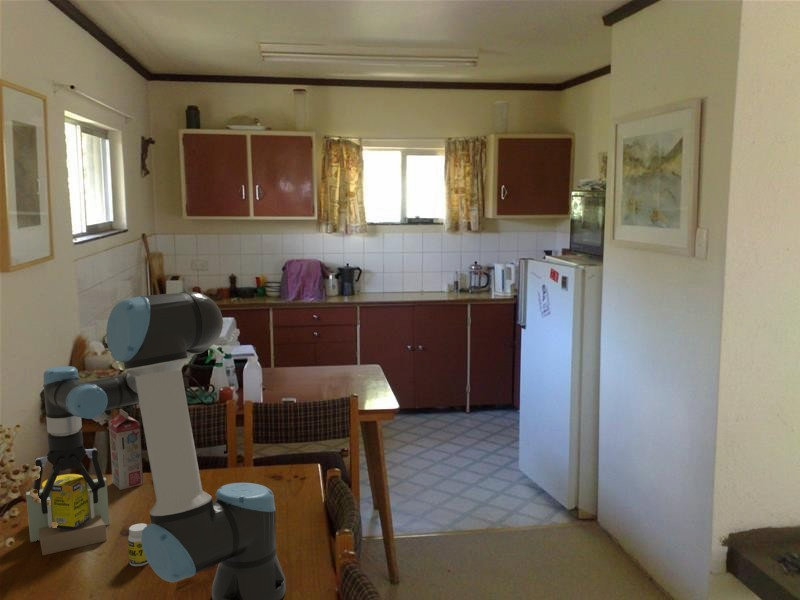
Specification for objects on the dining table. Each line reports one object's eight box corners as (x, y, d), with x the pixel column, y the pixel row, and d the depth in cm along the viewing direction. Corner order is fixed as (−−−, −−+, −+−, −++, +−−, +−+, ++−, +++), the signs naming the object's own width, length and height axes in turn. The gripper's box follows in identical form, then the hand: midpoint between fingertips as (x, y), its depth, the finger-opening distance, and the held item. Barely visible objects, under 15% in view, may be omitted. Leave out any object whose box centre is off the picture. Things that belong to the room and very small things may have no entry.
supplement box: (75, 530, 168) (71, 486, 166) (53, 528, 169) (49, 484, 168) (90, 519, 174) (87, 476, 172) (69, 517, 175) (65, 475, 173)
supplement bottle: (125, 566, 159) (122, 531, 158) (135, 556, 164) (133, 521, 163) (144, 567, 159) (142, 532, 157) (155, 557, 163) (153, 522, 162)
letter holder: (115, 538, 172) (112, 492, 171) (33, 557, 163) (29, 508, 162) (108, 521, 182) (105, 477, 180) (29, 538, 173) (26, 492, 171)
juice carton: (135, 477, 211) (131, 406, 209) (143, 484, 206) (139, 411, 203) (112, 483, 207) (108, 410, 204) (120, 489, 202) (115, 415, 199)
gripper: (109, 419, 177) (115, 505, 180) (13, 434, 166) (21, 525, 169) (114, 427, 171) (120, 516, 174) (15, 443, 160) (22, 537, 163)
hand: (71, 520), depth 172 cm, fingers open, 9 cm apart
